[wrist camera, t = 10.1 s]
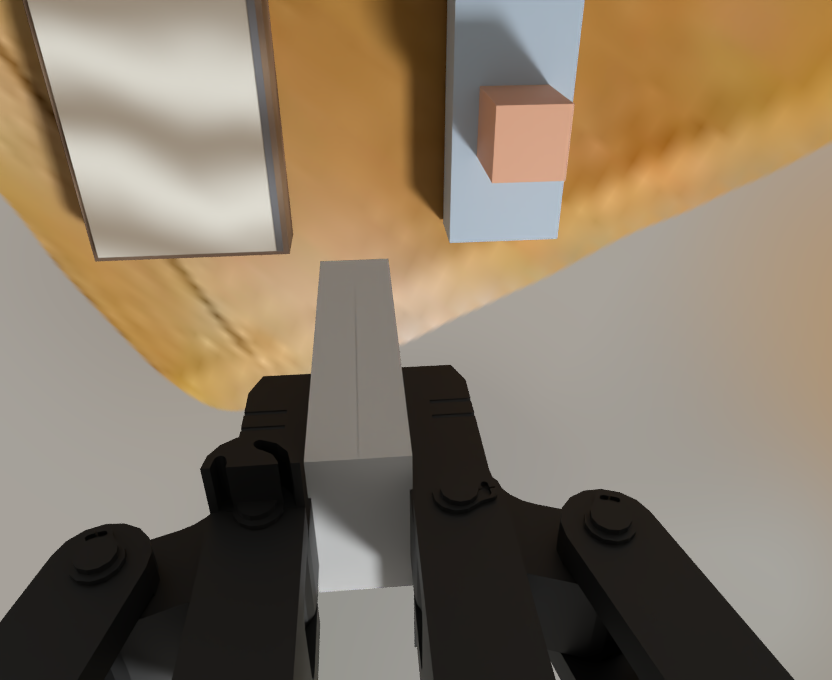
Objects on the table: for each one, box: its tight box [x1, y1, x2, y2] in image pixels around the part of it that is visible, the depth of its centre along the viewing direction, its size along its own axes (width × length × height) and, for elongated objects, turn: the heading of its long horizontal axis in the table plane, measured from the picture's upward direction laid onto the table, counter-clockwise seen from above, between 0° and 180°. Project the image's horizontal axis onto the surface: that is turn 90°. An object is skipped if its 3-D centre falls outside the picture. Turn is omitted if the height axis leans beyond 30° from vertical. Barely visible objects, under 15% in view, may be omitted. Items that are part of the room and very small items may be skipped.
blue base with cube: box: [443, 0, 584, 243], centre depth 38 cm, size 15×7×8 cm, turn 0°
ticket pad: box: [22, 0, 293, 261], centre depth 39 cm, size 16×12×4 cm
